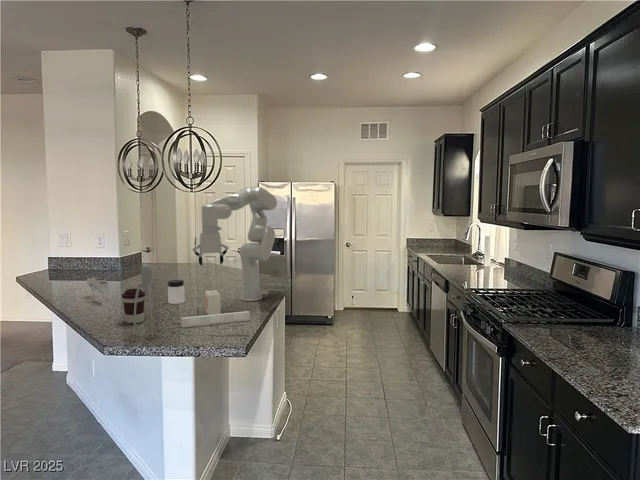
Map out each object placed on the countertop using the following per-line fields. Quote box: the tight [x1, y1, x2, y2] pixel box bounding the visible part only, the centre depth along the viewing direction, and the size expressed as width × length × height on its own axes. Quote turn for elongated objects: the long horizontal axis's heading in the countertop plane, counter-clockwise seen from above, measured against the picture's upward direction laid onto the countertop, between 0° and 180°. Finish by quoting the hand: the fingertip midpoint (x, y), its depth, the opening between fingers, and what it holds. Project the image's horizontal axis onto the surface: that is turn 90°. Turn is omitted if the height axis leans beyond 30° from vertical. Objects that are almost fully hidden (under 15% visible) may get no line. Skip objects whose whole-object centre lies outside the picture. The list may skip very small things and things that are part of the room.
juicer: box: [133, 263, 161, 339], centre depth 181 cm, size 10×9×30 cm
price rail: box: [181, 310, 251, 329], centre depth 198 cm, size 30×2×4 cm, turn 111°
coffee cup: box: [121, 288, 146, 324], centre depth 202 cm, size 10×10×15 cm
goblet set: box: [86, 275, 110, 306], centre depth 246 cm, size 28×6×13 cm, turn 41°
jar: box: [167, 279, 186, 305], centre depth 240 cm, size 9×8×12 cm
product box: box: [204, 289, 222, 315], centre depth 217 cm, size 6×11×10 cm, turn 21°
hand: (211, 264), depth 216 cm, fingers open, 9 cm apart
